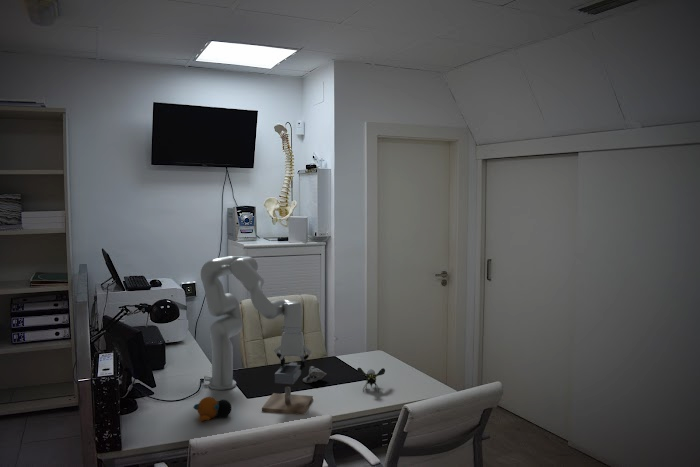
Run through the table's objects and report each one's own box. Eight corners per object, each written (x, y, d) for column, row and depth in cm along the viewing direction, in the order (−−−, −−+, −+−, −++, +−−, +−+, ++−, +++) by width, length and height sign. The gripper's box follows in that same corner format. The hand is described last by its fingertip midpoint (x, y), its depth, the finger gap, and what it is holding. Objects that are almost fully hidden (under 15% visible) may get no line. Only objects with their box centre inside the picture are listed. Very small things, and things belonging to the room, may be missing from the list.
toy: (194, 397, 234) (230, 399, 238) (191, 422, 231) (228, 423, 235) (195, 395, 224) (234, 397, 228) (192, 421, 220) (231, 422, 224)
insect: (356, 396, 256) (356, 374, 255) (356, 383, 272) (357, 362, 271) (385, 396, 255) (386, 375, 255) (384, 384, 272) (385, 363, 271)
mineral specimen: (310, 389, 277) (317, 390, 268) (298, 379, 276) (304, 379, 267) (322, 373, 281) (329, 373, 272) (310, 362, 280) (316, 363, 270)
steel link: (293, 384, 236) (293, 375, 235) (274, 382, 237) (274, 373, 237) (302, 371, 251) (302, 363, 251) (285, 370, 253) (285, 361, 252)
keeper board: (261, 411, 237) (261, 392, 236) (273, 396, 254) (273, 378, 253) (303, 414, 234) (304, 395, 234) (312, 399, 251) (312, 381, 250)
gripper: (271, 330, 246) (271, 370, 248) (310, 332, 244) (310, 372, 245) (275, 326, 254) (276, 365, 255) (314, 328, 251) (314, 367, 253)
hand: (292, 368), depth 250 cm, fingers closed on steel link, 8 cm apart
